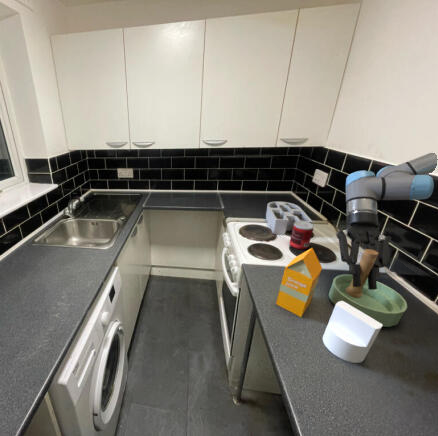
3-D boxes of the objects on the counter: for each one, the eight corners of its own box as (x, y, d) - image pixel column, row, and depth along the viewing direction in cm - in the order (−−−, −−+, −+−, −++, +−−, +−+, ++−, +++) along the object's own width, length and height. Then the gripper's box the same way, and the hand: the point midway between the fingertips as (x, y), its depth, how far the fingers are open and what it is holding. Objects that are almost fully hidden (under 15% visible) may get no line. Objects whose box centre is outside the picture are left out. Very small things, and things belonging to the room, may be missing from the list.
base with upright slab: (315, 339, 64) (327, 307, 59) (335, 327, 67) (348, 296, 62) (352, 368, 57) (369, 335, 52) (372, 354, 60) (391, 320, 55)
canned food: (308, 243, 110) (313, 223, 106) (308, 251, 104) (314, 230, 99) (289, 239, 114) (294, 219, 109) (288, 247, 108) (293, 226, 103)
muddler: (358, 291, 75) (377, 249, 68) (363, 299, 71) (383, 256, 65) (343, 288, 76) (360, 247, 70) (347, 296, 73) (365, 254, 66)
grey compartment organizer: (272, 234, 119) (275, 219, 116) (262, 213, 144) (265, 200, 140) (308, 237, 115) (313, 222, 112) (292, 215, 140) (295, 202, 136)
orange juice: (310, 302, 76) (327, 252, 68) (301, 317, 71) (318, 264, 63) (285, 291, 82) (298, 242, 74) (275, 303, 77) (287, 253, 68)
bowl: (382, 294, 79) (389, 280, 76) (411, 336, 64) (421, 320, 62) (322, 283, 85) (326, 270, 82) (337, 318, 70) (343, 304, 68)
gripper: (385, 222, 76) (391, 295, 69) (327, 216, 81) (327, 283, 74) (401, 214, 69) (409, 293, 62) (336, 208, 75) (337, 280, 68)
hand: (364, 287), depth 68 cm, fingers closed on muddler, 3 cm apart
